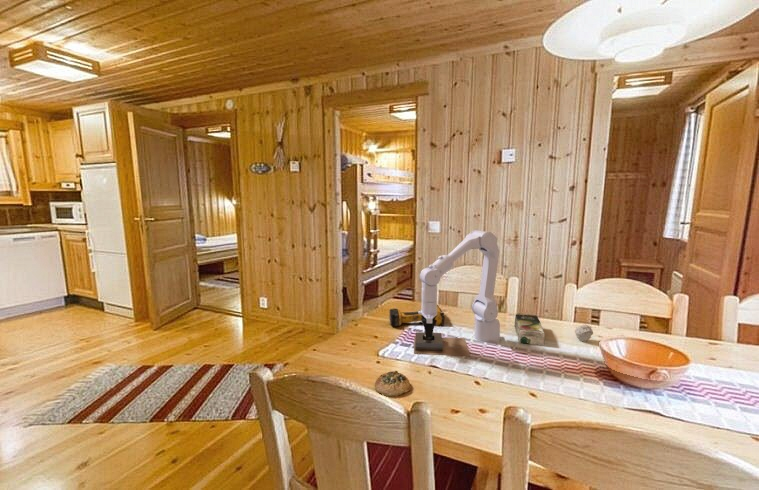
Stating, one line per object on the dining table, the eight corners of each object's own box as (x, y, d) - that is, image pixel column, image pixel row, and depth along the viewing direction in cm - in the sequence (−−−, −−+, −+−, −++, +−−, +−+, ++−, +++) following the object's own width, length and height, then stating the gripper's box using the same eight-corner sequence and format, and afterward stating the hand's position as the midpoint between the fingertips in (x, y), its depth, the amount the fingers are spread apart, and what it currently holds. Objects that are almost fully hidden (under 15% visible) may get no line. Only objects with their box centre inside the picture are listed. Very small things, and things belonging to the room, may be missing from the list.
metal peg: (432, 338, 136) (432, 320, 135) (433, 341, 133) (433, 323, 132) (424, 337, 136) (424, 320, 135) (424, 341, 133) (424, 322, 132)
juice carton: (546, 347, 135) (546, 331, 134) (518, 344, 138) (519, 329, 137) (537, 328, 154) (538, 315, 154) (513, 326, 157) (514, 313, 156)
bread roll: (389, 373, 115) (390, 360, 114) (417, 389, 109) (419, 375, 107) (366, 389, 107) (367, 375, 106) (395, 407, 100) (396, 392, 99)
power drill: (387, 311, 178) (436, 310, 180) (391, 329, 155) (447, 327, 156) (386, 297, 177) (436, 296, 179) (391, 313, 154) (447, 311, 155)
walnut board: (464, 340, 141) (464, 338, 141) (470, 358, 125) (470, 356, 125) (414, 338, 143) (414, 336, 143) (413, 356, 128) (413, 353, 127)
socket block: (441, 340, 139) (441, 333, 139) (442, 351, 129) (442, 343, 129) (415, 339, 140) (415, 332, 140) (415, 350, 130) (415, 342, 130)
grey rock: (580, 344, 136) (582, 327, 135) (570, 337, 143) (571, 321, 142) (596, 344, 137) (597, 327, 136) (585, 337, 144) (586, 320, 143)
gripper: (418, 294, 140) (418, 327, 142) (418, 306, 126) (418, 342, 127) (436, 295, 139) (435, 328, 141) (438, 306, 125) (437, 343, 127)
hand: (428, 335), depth 134 cm, fingers closed on metal peg, 3 cm apart
